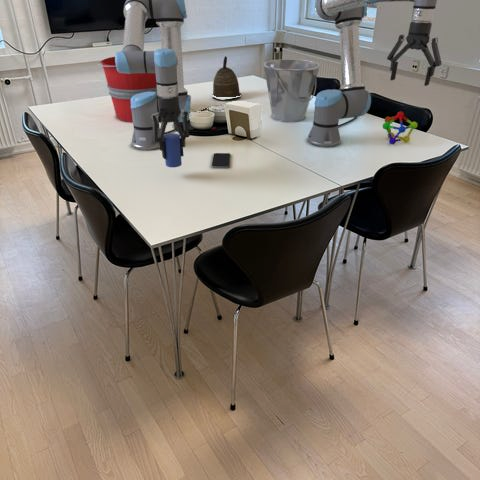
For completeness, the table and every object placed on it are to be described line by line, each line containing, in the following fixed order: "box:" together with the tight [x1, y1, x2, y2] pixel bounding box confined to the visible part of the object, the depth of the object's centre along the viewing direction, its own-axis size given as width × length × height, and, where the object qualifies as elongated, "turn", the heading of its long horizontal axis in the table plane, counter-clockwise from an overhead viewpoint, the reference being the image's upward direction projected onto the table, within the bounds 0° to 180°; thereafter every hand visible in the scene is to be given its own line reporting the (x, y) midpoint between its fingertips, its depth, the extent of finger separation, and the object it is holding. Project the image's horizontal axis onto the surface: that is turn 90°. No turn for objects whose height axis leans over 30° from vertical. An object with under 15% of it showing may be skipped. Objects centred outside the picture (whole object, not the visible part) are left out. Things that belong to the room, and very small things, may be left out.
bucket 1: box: [97, 56, 158, 123], centre depth 239 cm, size 35×35×30 cm
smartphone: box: [211, 152, 231, 169], centre depth 190 cm, size 7×1×15 cm
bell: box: [212, 56, 242, 97], centre depth 278 cm, size 19×26×20 cm
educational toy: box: [382, 110, 418, 145], centre depth 207 cm, size 16×13×15 cm
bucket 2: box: [263, 58, 321, 123], centre depth 238 cm, size 30×30×28 cm
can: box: [163, 132, 183, 168], centre depth 170 cm, size 6×6×12 cm
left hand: (172, 156), depth 172 cm, fingers closed on can, 6 cm apart
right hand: (409, 82), depth 171 cm, fingers open, 13 cm apart
